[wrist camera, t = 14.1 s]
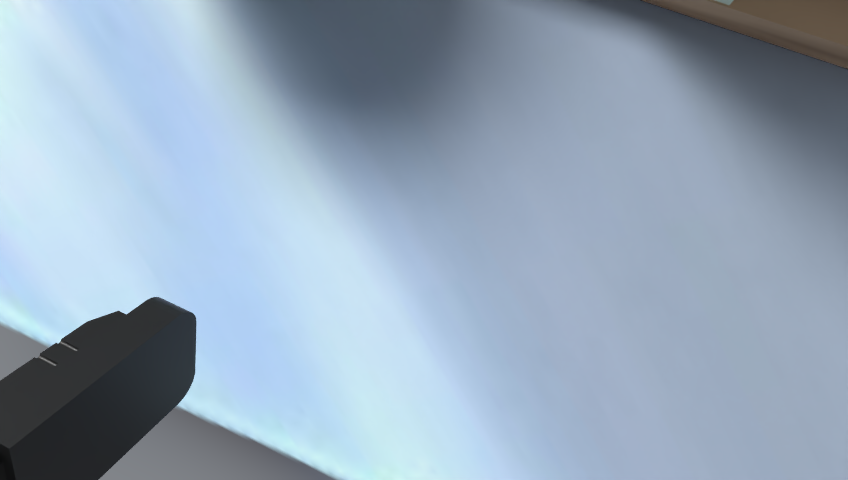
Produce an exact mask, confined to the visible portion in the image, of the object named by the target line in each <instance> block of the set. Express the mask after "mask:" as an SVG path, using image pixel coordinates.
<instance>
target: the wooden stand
mask: <svg viewBox="0 0 848 480" xmlns="http://www.w3.org/2000/svg"><path fill="white" fill-rule="evenodd" d="M641 1H644V2H647V3H650V4H653V5H656V6H659V7H662V8H665V9H668V10H671V11H674V12H677V13H681V14H684V15H687V16H690V17H693V18H696V19H699V20H702V21H705V22H708V23H711V24H714V25H717V26H720V27H723V28H726V29H729V30H732V31H735V32H738V33H741V34H744V35H747V36H750V37H753V38H756V39H759V40H762V41H765V42H768V43H771V44H774V45H777V46H780V47H783V48H786V49H789V50H792V51H795V52H798V53H801V54H804V55H807V56H810V57H813V58H816V59H819V60H822V61H825V62H828V63H831V64H834V65H837V66H840V67H843V68H846V69H848V0H733V2H732V3H731V4H730V5H726V4H723V3H720V2H717V1H715V0H641Z"/></svg>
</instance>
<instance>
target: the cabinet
mask: <svg viewBox="0 0 848 480" xmlns="http://www.w3.org/2000/svg"><path fill="white" fill-rule="evenodd" d="M715 1H717V2H720V3H723V4H726V5H730V4H731V3H732V2H733V0H715Z"/></svg>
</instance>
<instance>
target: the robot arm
mask: <svg viewBox="0 0 848 480" xmlns="http://www.w3.org/2000/svg"><path fill="white" fill-rule="evenodd" d="M195 355H196V318H195V315H194V314H193V313H191V312H189V311H187V310H185V309H183V308H181V307H179V306H177V305H174V304H172V303H170V302H168V301H166V300H164V299H162V298H159V297H153V298H150V299H148V300H147V301H145V302H144V303H142V304H141V305H139V306H138V307H137V308H135V309H134V310H132V311H131V312H130V313H128V314H127V315H126V314H124V313H122V312H120V311H117V312H114V313H111V314H108V315H105V316H102V317H99V318H96V319H94V320H91V321H88V322H86V323H84V324H83V325H82V326H80V327H79V328H77V329H76V330H74V331H73V332H71V333H70V334H68V335H67V336H65V337H64V338H62V339H61V342H60V343H59V344H57V343H55V344H54V345H52V346H51V347H49V348H48V349H46V350H45V351H43V352H42V353H40V356H39V357H38V358H33V359H32V360H30V361H29V362H27V363H26V364H24V365H23V366H21V367H20V368H18V369H17V370H15V371H14V372H13V373H11V374H9V375H8V376H7V377H5V378H4V379H2V380H1V381H0V480H98V479H99V478H100V477H102V476H103V475H104V474H105V473H106V472H107V471H108V470H109V469H110V468H111V467H112V466H113V465H114V464H115V463H116V462H117V461H118V460H120V459H121V458H122V457H123V456H124V455H125V454H126V453H127V452H128V451H129V450H130V449H131V448H132V447H133V446H134V445H135V444H136V443H137V442H139V440H141V439H142V438H143V437H144V436H145V435H146V434H147V433H148V432H149V431H150V430H151V429H152V428H153V427H154V426H155V425H156V424H158V423H159V421H161V420H162V419H163V418H164V417H165V416H166V415H167V414H168V413H169V412H170V411H171V410H172V409H173V408H174V407H175V406H176V405H178V403H179V402H180V401H181V400H182V399H183V398H184V396H185V395H186V393H187V392H188V390H189V388H190V386H191V384H192V382H193V379H194V375H195Z"/></svg>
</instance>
